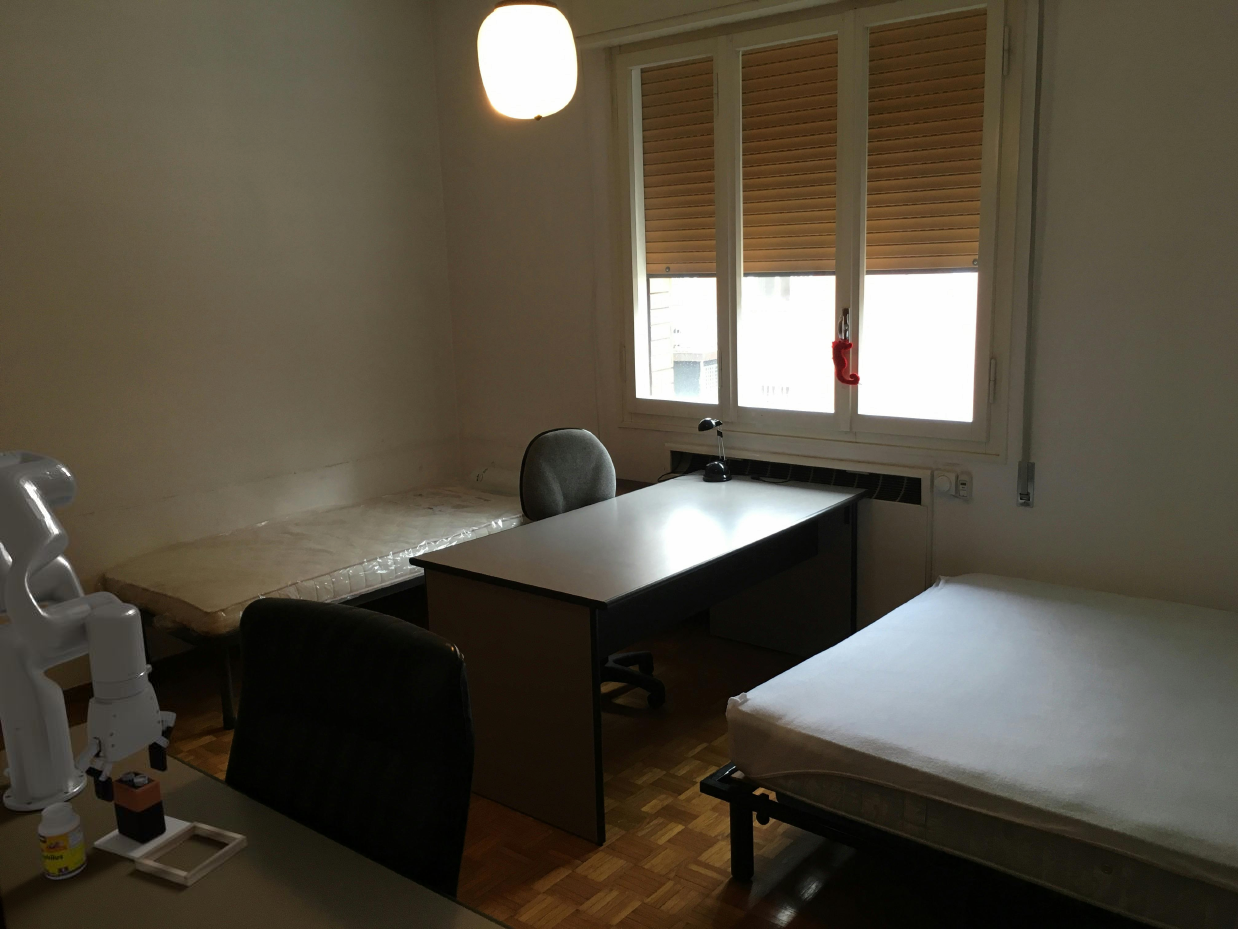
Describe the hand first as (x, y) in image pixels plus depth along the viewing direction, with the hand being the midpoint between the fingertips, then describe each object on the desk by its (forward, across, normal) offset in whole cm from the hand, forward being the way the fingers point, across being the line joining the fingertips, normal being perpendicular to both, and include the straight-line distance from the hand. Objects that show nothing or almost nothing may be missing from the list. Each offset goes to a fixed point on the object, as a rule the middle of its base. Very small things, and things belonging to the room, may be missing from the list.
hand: (133, 784), depth 153 cm
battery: (+8, 0, +1) cm, 9 cm away
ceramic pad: (+9, 0, +1) cm, 9 cm away
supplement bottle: (+9, +11, -2) cm, 14 cm away
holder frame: (+8, +1, +13) cm, 16 cm away
